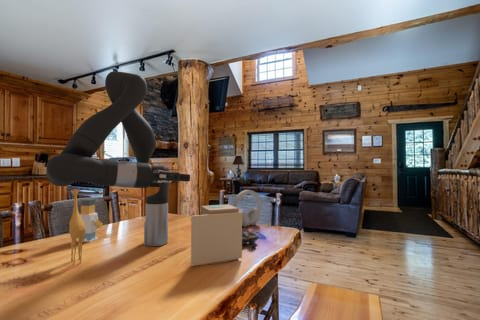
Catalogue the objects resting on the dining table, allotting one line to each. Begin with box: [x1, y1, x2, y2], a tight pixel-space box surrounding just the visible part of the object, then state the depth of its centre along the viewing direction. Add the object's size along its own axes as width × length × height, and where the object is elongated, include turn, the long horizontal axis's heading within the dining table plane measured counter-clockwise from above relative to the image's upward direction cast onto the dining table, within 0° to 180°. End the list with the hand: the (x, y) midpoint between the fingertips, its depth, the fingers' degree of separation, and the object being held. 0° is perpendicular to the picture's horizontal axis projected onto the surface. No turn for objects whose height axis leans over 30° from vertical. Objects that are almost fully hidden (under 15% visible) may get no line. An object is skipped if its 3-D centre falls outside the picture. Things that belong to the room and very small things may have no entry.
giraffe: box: [68, 187, 86, 266], centre depth 90 cm, size 16×4×25 cm, turn 39°
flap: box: [190, 212, 243, 267], centre depth 87 cm, size 18×1×16 cm, turn 115°
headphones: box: [232, 189, 262, 228], centre depth 142 cm, size 19×8×20 cm, turn 127°
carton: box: [200, 203, 240, 265], centre depth 94 cm, size 11×10×18 cm
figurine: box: [242, 229, 259, 250], centre depth 116 cm, size 13×6×30 cm
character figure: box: [79, 198, 103, 243], centre depth 114 cm, size 8×10×18 cm
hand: (183, 178), depth 84 cm, fingers open, 8 cm apart
